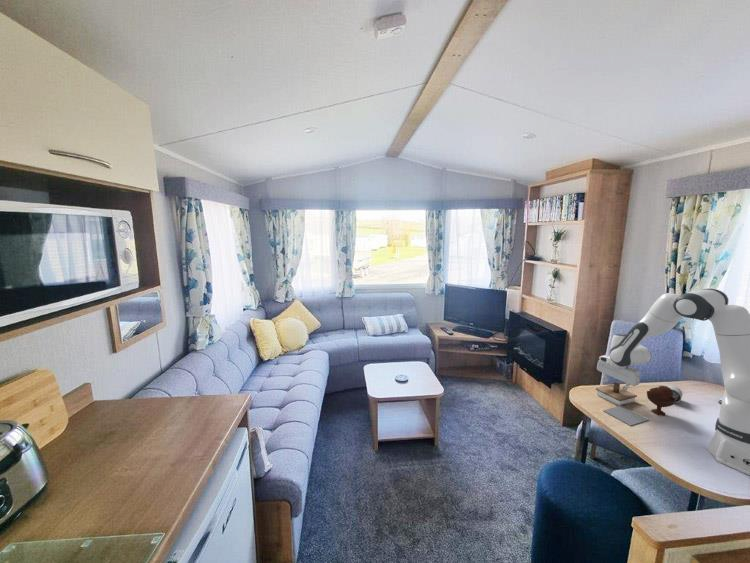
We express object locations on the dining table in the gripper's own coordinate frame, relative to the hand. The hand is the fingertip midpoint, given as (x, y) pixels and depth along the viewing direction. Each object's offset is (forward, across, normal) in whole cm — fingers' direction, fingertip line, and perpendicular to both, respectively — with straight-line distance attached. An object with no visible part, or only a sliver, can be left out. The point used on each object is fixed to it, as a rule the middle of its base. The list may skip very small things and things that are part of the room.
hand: (615, 385), depth 169 cm
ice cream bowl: (+8, -18, -6) cm, 20 cm away
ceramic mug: (+8, -11, -26) cm, 29 cm away
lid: (+5, 0, 0) cm, 5 cm away
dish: (+8, 0, 0) cm, 8 cm away
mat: (+7, -13, +12) cm, 19 cm away
